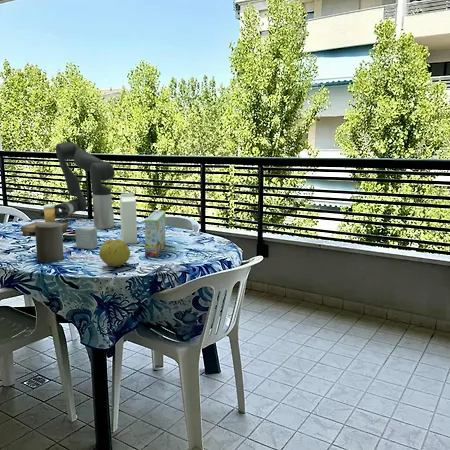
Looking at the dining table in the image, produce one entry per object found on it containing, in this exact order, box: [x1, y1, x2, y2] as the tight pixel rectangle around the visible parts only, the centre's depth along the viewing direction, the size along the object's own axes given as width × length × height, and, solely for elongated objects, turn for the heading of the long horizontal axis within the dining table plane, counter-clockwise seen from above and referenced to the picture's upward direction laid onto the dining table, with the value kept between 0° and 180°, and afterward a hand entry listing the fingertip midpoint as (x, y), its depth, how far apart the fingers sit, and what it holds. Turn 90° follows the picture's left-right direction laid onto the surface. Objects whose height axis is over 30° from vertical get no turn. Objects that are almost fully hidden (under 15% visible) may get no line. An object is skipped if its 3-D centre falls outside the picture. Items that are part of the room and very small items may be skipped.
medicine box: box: [74, 226, 99, 250], centre depth 192 cm, size 8×4×9 cm, turn 71°
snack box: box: [144, 210, 166, 258], centre depth 188 cm, size 21×6×15 cm, turn 179°
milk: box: [119, 192, 138, 245], centre depth 201 cm, size 6×6×22 cm
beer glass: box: [43, 203, 56, 223], centre depth 233 cm, size 5×5×12 cm
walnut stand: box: [20, 221, 69, 236], centre depth 219 cm, size 17×13×4 cm
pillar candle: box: [34, 221, 64, 263], centre depth 174 cm, size 10×10×15 cm
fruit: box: [98, 238, 131, 267], centre depth 166 cm, size 11×12×10 cm
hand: (48, 215), depth 231 cm, fingers open, 8 cm apart
